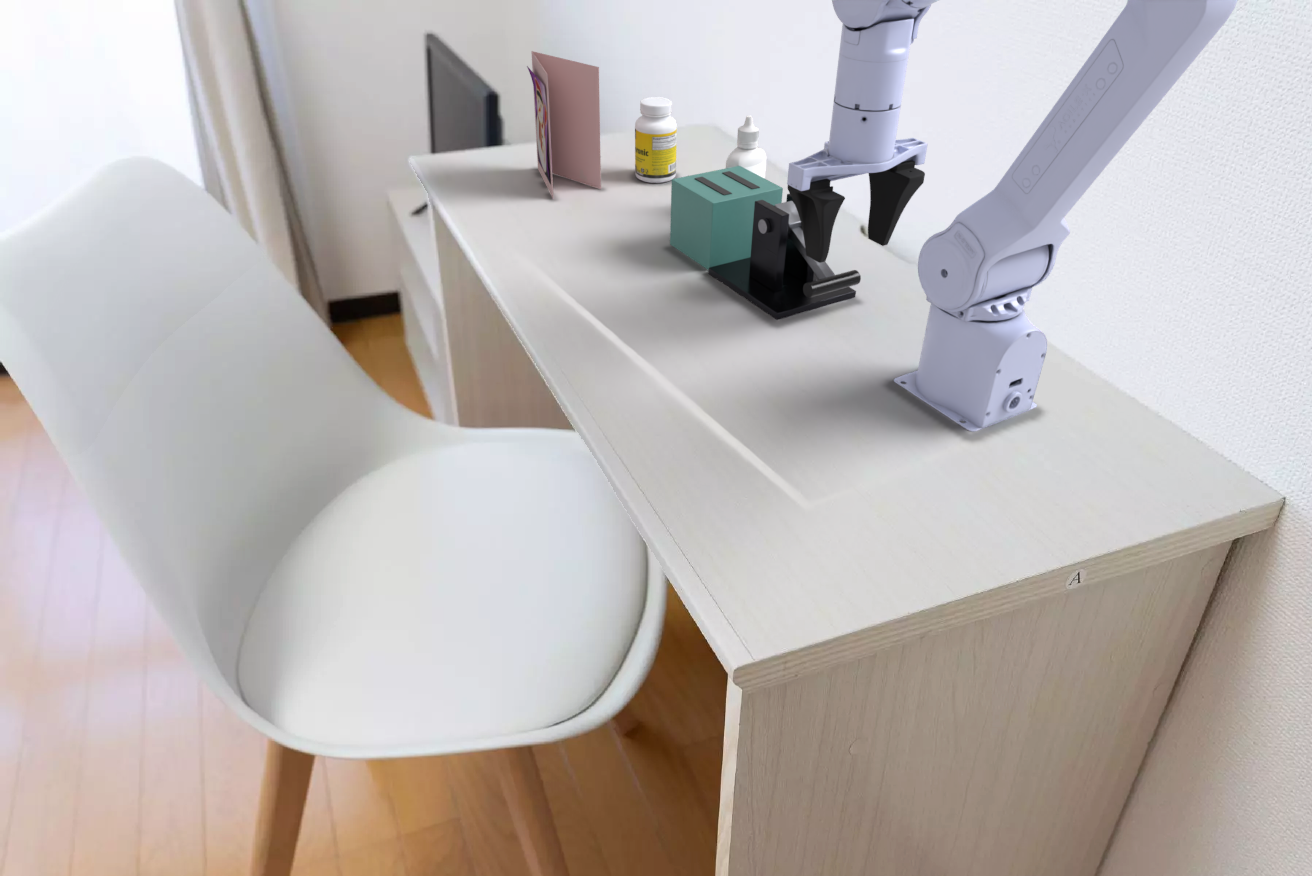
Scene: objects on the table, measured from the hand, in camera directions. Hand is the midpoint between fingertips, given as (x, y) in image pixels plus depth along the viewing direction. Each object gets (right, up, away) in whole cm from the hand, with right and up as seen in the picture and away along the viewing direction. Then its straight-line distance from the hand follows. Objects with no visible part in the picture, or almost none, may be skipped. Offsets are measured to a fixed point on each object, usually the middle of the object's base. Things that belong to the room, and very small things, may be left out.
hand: (847, 249), depth 91 cm
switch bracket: (-5, -2, +10) cm, 11 cm away
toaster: (-11, +3, +17) cm, 20 cm away
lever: (-4, 0, +5) cm, 6 cm away
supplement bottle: (-18, +17, +37) cm, 44 cm away
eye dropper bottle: (-8, +9, +26) cm, 28 cm away
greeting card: (-30, +16, +35) cm, 48 cm away
